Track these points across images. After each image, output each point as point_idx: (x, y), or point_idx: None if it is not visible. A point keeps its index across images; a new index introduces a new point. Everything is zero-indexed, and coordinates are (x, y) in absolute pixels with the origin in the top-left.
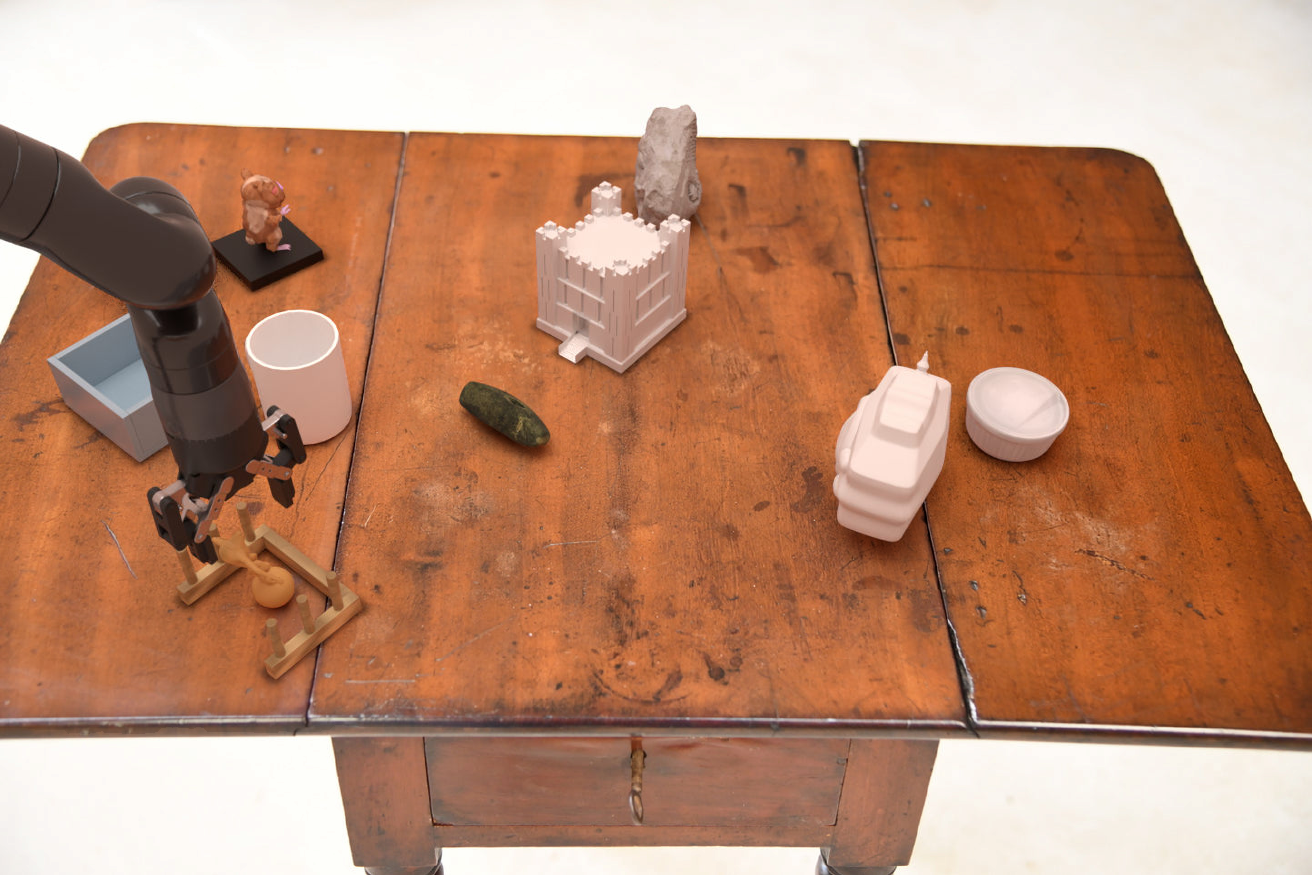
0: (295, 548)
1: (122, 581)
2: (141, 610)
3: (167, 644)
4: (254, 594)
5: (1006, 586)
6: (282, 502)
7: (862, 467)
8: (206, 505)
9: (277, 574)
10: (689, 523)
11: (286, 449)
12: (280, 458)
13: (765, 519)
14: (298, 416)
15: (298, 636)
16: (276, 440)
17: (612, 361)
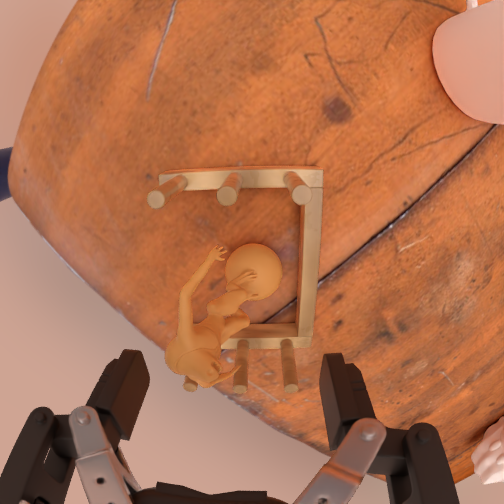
0: (319, 242)
1: (132, 92)
2: (124, 150)
3: (123, 217)
4: (225, 271)
5: (461, 460)
6: (322, 383)
7: (493, 476)
8: (129, 487)
9: (261, 290)
10: (476, 398)
11: (406, 463)
12: (378, 463)
13: (483, 411)
14: (482, 93)
15: (228, 341)
16: (414, 478)
17: None
